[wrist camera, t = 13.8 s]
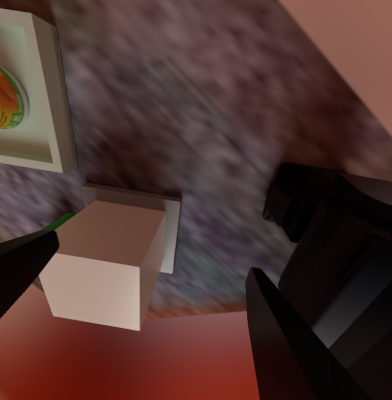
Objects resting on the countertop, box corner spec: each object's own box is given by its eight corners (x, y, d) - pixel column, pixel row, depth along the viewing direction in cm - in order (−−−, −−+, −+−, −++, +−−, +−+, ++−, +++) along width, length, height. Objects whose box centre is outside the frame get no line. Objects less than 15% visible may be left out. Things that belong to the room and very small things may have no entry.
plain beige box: (182, 198, 20) (161, 254, 12) (173, 268, 25) (155, 342, 17) (86, 182, 20) (1, 227, 12) (96, 255, 25) (41, 322, 17)
